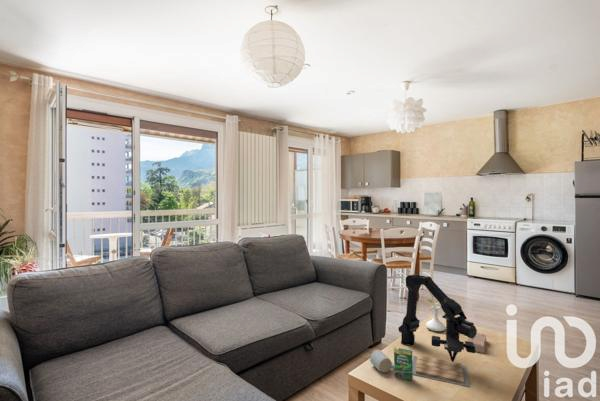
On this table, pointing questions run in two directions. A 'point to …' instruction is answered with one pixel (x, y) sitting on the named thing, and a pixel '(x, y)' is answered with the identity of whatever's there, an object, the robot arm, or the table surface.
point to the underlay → (442, 379)
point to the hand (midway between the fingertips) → (452, 361)
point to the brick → (478, 342)
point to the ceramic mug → (381, 361)
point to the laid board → (440, 373)
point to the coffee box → (403, 363)
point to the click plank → (439, 363)
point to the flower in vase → (435, 318)
